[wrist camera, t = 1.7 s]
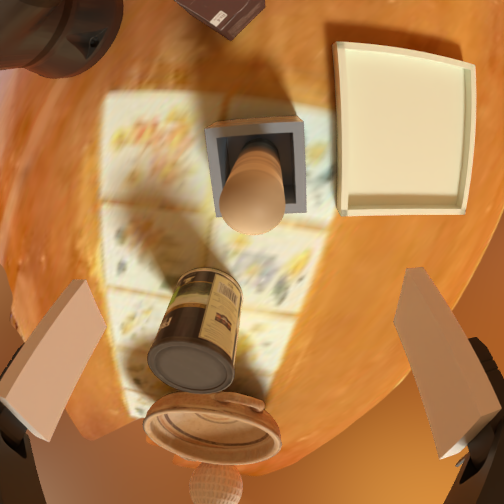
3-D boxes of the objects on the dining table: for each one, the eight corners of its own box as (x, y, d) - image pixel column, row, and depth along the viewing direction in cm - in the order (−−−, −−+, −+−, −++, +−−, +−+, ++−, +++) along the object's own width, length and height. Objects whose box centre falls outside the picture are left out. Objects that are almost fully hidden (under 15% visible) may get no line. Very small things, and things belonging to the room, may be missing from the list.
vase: (251, 457, 77) (246, 520, 58) (236, 470, 85) (231, 524, 66) (199, 447, 75) (188, 511, 56) (190, 460, 83) (181, 516, 64)
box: (226, -20, 23) (215, -44, 17) (267, 7, 25) (266, -13, 19) (190, 15, 26) (171, -1, 19) (230, 43, 27) (220, 31, 21)
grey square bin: (217, 121, 32) (204, 128, 26) (297, 115, 31) (303, 121, 25) (225, 194, 37) (216, 217, 30) (300, 189, 36) (306, 212, 30)
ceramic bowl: (178, 332, 49) (163, 378, 40) (320, 381, 54) (324, 425, 46) (141, 413, 67) (132, 445, 58) (241, 444, 72) (238, 475, 63)
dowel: (238, 139, 32) (215, 176, 19) (277, 137, 32) (283, 171, 19) (241, 177, 34) (223, 236, 21) (280, 174, 34) (286, 233, 21)
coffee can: (169, 308, 46) (143, 378, 34) (184, 257, 41) (153, 328, 29) (230, 329, 48) (219, 402, 36) (254, 281, 43) (247, 359, 31)
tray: (331, 44, 27) (336, 41, 24) (463, 64, 25) (475, 64, 23) (336, 207, 36) (340, 216, 34) (455, 207, 35) (464, 214, 33)
